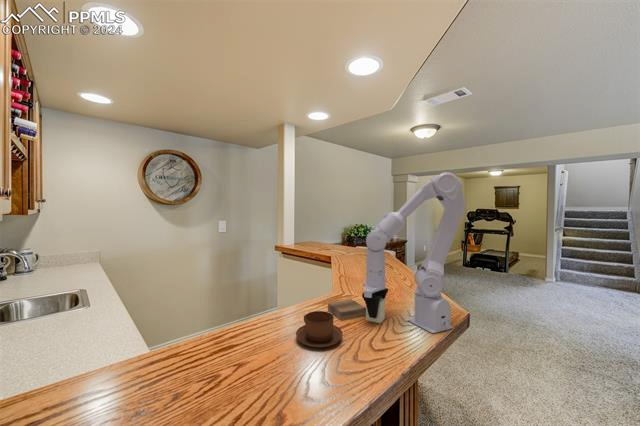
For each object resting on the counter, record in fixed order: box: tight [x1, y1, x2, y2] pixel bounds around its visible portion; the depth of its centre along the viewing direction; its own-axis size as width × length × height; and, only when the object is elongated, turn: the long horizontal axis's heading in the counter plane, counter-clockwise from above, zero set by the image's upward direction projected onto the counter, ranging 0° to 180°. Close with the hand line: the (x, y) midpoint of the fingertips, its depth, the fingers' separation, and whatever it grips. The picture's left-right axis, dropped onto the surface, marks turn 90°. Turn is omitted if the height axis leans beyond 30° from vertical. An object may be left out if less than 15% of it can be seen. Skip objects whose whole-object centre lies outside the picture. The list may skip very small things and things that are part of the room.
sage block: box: [365, 298, 386, 324], centre depth 81 cm, size 4×4×6 cm
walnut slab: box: [327, 298, 366, 322], centre depth 86 cm, size 9×9×3 cm
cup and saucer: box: [295, 310, 343, 348], centre depth 68 cm, size 12×12×6 cm
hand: (375, 314), depth 81 cm, fingers closed on sage block, 4 cm apart
